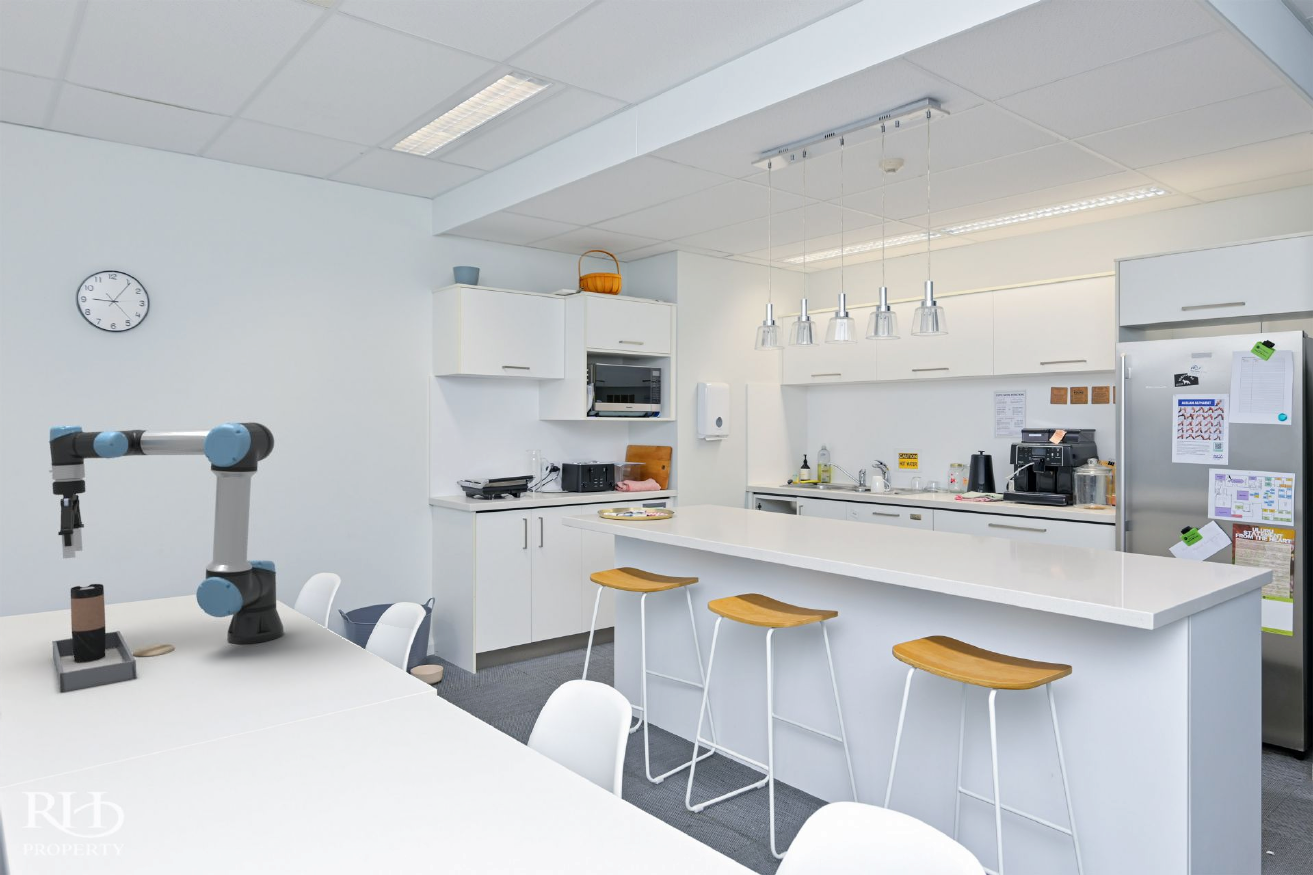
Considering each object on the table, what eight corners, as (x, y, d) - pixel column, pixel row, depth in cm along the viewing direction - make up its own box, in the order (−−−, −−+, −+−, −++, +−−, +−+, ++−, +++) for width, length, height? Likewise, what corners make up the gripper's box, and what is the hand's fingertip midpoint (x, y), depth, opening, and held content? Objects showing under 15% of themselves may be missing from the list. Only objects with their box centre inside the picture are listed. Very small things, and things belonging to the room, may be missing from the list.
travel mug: (93, 662, 219) (90, 589, 219) (65, 662, 220) (63, 589, 219) (113, 654, 227) (110, 583, 226) (86, 654, 227) (83, 583, 227)
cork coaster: (181, 646, 234) (181, 644, 234) (160, 656, 224) (160, 655, 224) (147, 646, 234) (147, 644, 234) (124, 657, 224) (124, 655, 224)
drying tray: (53, 657, 225) (52, 641, 225) (119, 646, 235) (119, 630, 235) (60, 692, 196) (59, 673, 196) (136, 678, 206) (135, 660, 206)
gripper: (59, 478, 238) (63, 549, 239) (44, 483, 217) (49, 562, 217) (90, 476, 242) (94, 546, 243) (78, 481, 220) (82, 559, 221)
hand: (73, 554), depth 230 cm, fingers open, 13 cm apart
